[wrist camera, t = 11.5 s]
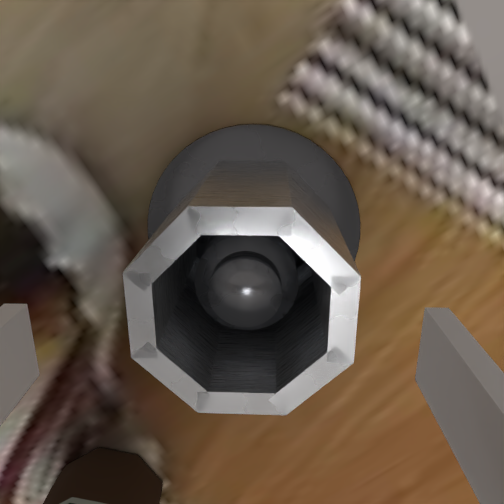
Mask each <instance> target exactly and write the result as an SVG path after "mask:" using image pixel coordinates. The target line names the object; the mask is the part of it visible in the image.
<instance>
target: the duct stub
mask: <svg viewBox="0 0 504 504" xmlns="http://www.w3.org/2000/svg"><path fill="white" fill-rule="evenodd" d="M219 161H286V162H287V163H288V165H289V166H290V167H291V168H292V169H293V170H294V171H295V172H296V173H297V174H298V175H299V176H300V177H301V178H302V179H303V180H304V181H305V182H306V183H307V184H308V185H309V186H310V187H311V188H312V189H313V190H314V191H315V192H316V194H317V195H318V196H319V197H320V198H321V199H322V200H323V201H324V202H325V203H326V204H327V205H328V206H329V208H330V210H331V212H332V214H333V216H334V219H335V221H336V223H337V225H338V227H339V229H340V232H341V234H342V236H343V238H344V240H345V243H346V245H347V247H348V249H349V251H350V254H351V256H352V258H353V260H354V261H355V258H356V254H357V251H358V246H359V239H360V217H359V209H358V205H357V201H356V198H355V195H354V192H353V190H352V188H351V185H350V183H349V181H348V180H347V178H346V176H345V175H344V173H343V171H342V170H341V169H340V167H339V166H338V165H337V164H336V162H335V161H334V160H333V159H332V157H330V156H329V155H328V154H327V153H326V152H325V151H324V150H323V149H322V148H321V147H319V146H318V145H316V144H315V143H314V142H312V141H311V140H309V139H307V138H305V137H304V136H302V135H300V134H298V133H296V132H293V131H290V130H287V129H284V128H281V127H276V126H271V125H263V124H243V125H235V126H230V127H225V128H222V129H219V130H216V131H214V132H211V133H209V134H207V135H205V136H203V137H201V138H199V139H197V140H196V141H195V142H193V143H192V144H190V145H189V146H187V147H186V148H185V149H184V150H183V151H181V152H180V153H179V154H178V155H177V156H176V157H175V158H174V159H173V160H172V162H171V163H170V164H169V165H168V167H167V168H166V169H165V171H164V172H163V174H162V176H161V177H160V179H159V181H158V183H157V185H156V187H155V190H154V192H153V195H152V199H151V202H150V206H149V214H148V238H149V239H150V238H151V237H152V235H153V234H154V233H155V232H156V230H157V229H158V228H159V227H160V225H161V224H162V223H163V222H164V220H165V219H166V218H167V217H168V215H169V214H170V213H171V212H172V210H173V209H174V208H175V207H176V205H177V204H178V203H179V202H180V201H181V200H182V199H183V198H184V197H185V196H186V195H187V194H188V193H189V192H190V191H191V190H192V189H193V188H194V187H195V186H196V185H197V184H198V183H199V182H200V181H201V180H202V179H203V178H204V177H205V175H206V174H207V173H208V172H209V171H210V170H211V169H212V168H213V167H214V166H215V165H216V164H217V163H218V162H219ZM196 242H197V257H198V258H199V259H200V261H199V264H198V266H197V269H196V274H195V290H196V294H197V297H198V299H199V302H200V303H201V305H202V307H203V308H204V309H205V311H206V312H207V313H208V314H209V315H210V316H211V317H212V318H214V319H215V320H216V321H218V322H219V323H221V324H223V325H225V326H228V327H231V328H234V329H239V330H256V329H261V328H265V327H267V326H270V325H272V324H274V323H276V322H277V321H279V320H280V319H281V318H282V317H284V316H285V315H286V314H287V312H288V311H289V310H290V309H291V307H292V305H293V303H294V301H295V299H296V296H297V292H298V274H297V268H298V267H299V266H300V265H301V264H302V263H303V262H305V261H304V260H303V259H302V258H301V257H300V256H299V255H298V254H297V253H296V252H295V251H294V250H293V249H292V248H291V247H290V246H289V245H288V244H287V243H286V242H285V241H284V240H283V239H282V238H281V237H280V236H258V235H201V236H200V237H199V238H198V239H197V240H196Z"/></svg>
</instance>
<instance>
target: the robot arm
mask: <svg viewBox="0 0 504 504" xmlns="http://www.w3.org/2000/svg"><path fill="white" fill-rule="evenodd" d="M39 375H40V374H39V368H38V363H37V357H36V351H35V346H34V340H33V334H32V329H31V323H30V317H29V312H28V306H27V304H3V305H2V306H1V307H0V426H1V424H2V423H3V422H4V421H5V419H6V418H7V417H8V415H9V414H10V413H11V411H12V410H13V409H14V408H15V406H16V405H17V404H18V402H19V401H20V400H21V398H22V397H23V396H24V395H25V393H26V392H27V391H28V389H29V388H30V387H31V385H32V384H33V383H34V382H35V380H36V379H37V378H38V376H39ZM415 380H416V382H417V384H418V386H419V388H420V390H421V392H422V394H423V396H424V397H425V399H426V401H427V403H428V405H429V407H430V409H431V411H432V413H433V415H434V417H435V418H436V420H437V422H438V424H439V426H440V428H441V430H442V432H443V434H444V436H445V438H446V439H447V441H448V443H449V445H450V447H451V449H452V451H453V453H454V455H455V457H456V459H457V460H458V462H459V464H460V466H461V468H462V470H463V472H464V474H465V476H466V478H467V480H468V482H469V483H470V485H471V487H472V489H473V491H474V493H475V495H476V497H477V499H478V501H479V503H480V504H504V373H503V372H502V371H501V369H500V368H499V367H498V366H497V365H496V363H495V362H494V361H493V360H492V359H491V358H490V356H489V355H488V354H487V353H486V352H485V350H484V349H483V348H482V347H481V346H480V345H479V343H478V342H477V341H476V340H475V339H474V337H473V336H472V335H471V334H470V333H469V331H468V330H467V329H466V328H465V327H464V326H463V324H462V323H461V322H460V321H459V320H458V318H457V317H456V316H455V315H454V314H453V313H452V311H451V310H450V309H449V308H425V311H424V318H423V326H422V333H421V340H420V348H419V355H418V362H417V369H416V377H415Z"/></svg>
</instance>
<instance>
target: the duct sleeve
mask: <svg viewBox="0 0 504 504" xmlns="http://www.w3.org/2000/svg"><path fill="white" fill-rule="evenodd" d="M201 235H258V236H280V237H281V238H282V239H283V240H284V241H285V242H286V243H287V244H288V245H289V246H290V247H291V248H292V249H293V250H294V251H295V252H296V253H297V254H298V255H299V256H300V257H301V258H302V259H303V260H304V261H305V262H303V263H302V264H301V265H300V266H299V267H298V268H297V274H298V292H297V296H296V299H295V301H294V303H293V305H292V307H291V309H290V310H289V311H288V312H287V314H286V315H285V316H284V317H282V318H281V319H280V320H279V321H277V322H276V323H274V324H272V325H270V326H267V327H265V328H261V329H256V330H239V329H234V328H231V327H228V326H225V325H223V324H221V323H219V322H218V321H216V320H215V319H214V318H212V317H211V316H210V315H209V314H208V313H207V312H206V311H205V309H204V308H203V307H202V305H201V303H200V302H199V299H198V297H197V294H196V290H195V274H196V269H197V266H198V264H199V261H200V259H199V258H198V257H197V242H196V240H197V239H198V238H199V237H200V236H201ZM123 281H124V291H125V301H126V311H127V320H128V330H129V340H130V350H131V358H132V359H134V360H135V361H136V362H137V363H138V364H140V365H141V366H142V367H143V368H144V369H146V370H147V371H148V372H149V373H151V374H152V375H153V376H154V377H155V378H157V379H158V380H159V381H160V382H161V383H163V384H164V385H165V386H166V387H168V388H169V389H170V390H171V391H172V392H174V393H175V394H176V395H177V396H178V397H180V398H181V399H182V400H183V401H184V402H186V403H187V404H188V405H189V406H191V407H192V408H193V409H194V410H195V411H197V412H198V413H226V414H262V415H287V414H288V413H289V412H291V411H292V410H293V409H295V408H296V407H297V406H299V405H300V404H301V403H302V402H304V401H305V400H306V399H308V398H309V397H310V396H311V395H313V394H314V393H315V392H317V391H318V390H319V389H320V388H322V387H323V386H324V385H326V384H327V383H328V382H329V381H331V380H332V379H333V378H335V377H336V376H337V375H339V374H340V373H341V372H342V371H344V370H345V369H346V368H348V367H349V366H350V365H351V364H353V363H354V353H355V341H356V329H357V317H358V306H359V294H360V282H361V275H360V273H359V271H358V269H357V267H356V264H355V262H354V260H353V258H352V256H351V254H350V251H349V249H348V247H347V245H346V243H345V240H344V238H343V236H342V234H341V232H340V229H339V227H338V225H337V223H336V221H335V219H334V216H333V214H332V212H331V210H330V208H329V206H328V205H327V204H326V203H325V202H324V201H323V200H322V199H321V198H320V197H319V196H318V195H317V194H316V192H315V191H314V190H313V189H312V188H311V187H310V186H309V185H308V184H307V183H306V182H305V181H304V180H303V179H302V178H301V177H300V176H299V175H298V174H297V173H296V172H295V171H294V170H293V169H292V168H291V167H290V166H289V165H288V163H287V162H286V161H219V162H218V163H217V164H216V165H215V166H214V167H213V168H212V169H211V170H210V171H209V172H208V173H207V174H206V175H205V177H204V178H203V179H202V180H201V181H200V182H199V183H198V184H197V185H196V186H195V187H194V188H193V189H192V190H191V191H190V192H189V193H188V194H187V195H186V196H185V197H184V198H183V199H182V200H181V201H180V202H179V203H178V204H177V205H176V207H175V208H174V209H173V210H172V212H171V213H170V214H169V215H168V217H167V218H166V219H165V220H164V222H163V223H162V224H161V225H160V227H159V228H158V229H157V230H156V232H155V233H154V234H153V235H152V237H151V238H150V239H149V240H148V242H147V243H146V244H145V245H144V247H143V248H142V249H141V250H140V252H139V253H138V254H137V255H136V257H135V258H134V259H133V260H132V262H131V263H130V264H129V265H128V267H127V268H126V269H125V270H124V272H123Z"/></svg>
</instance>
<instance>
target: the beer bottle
mask: <svg viewBox="0 0 504 504" xmlns="http://www.w3.org/2000/svg"><path fill="white" fill-rule="evenodd" d="M162 486H163V485H162V482H161V480H160V479H159V478H158V477H157V476H156V474H155V473H154V472H153V471H152V470H151V469H150V468H149V467H148V465H147V464H146V463H145V462H144V461H143V460H142V459H141V458H140V457H139V455H136V454H131V453H126V452H121V451H116V450H111V449H106V448H101V447H99V448H97V449H95V450H93V451H92V452H90V453H88V454H86V455H84V456H82V457H80V458H78V459H77V460H75V461H73V462H71V463H69V464H68V465H66V466H65V467H64V469H63V470H62V472H61V474H60V475H59V477H58V478H57V480H56V481H55V483H54V485H53V486H52V488H51V490H50V492H49V494H48V495H47V497H46V499H45V501H44V503H43V504H159V502H160V497H161V491H162Z"/></svg>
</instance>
